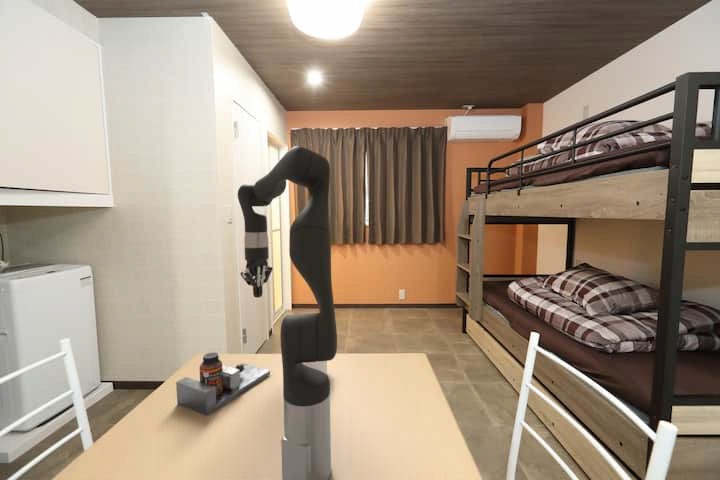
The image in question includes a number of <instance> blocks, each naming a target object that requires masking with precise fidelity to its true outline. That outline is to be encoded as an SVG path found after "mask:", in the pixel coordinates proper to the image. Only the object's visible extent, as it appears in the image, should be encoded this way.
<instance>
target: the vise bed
mask: <svg viewBox="0 0 720 480" xmlns="http://www.w3.org/2000/svg"><path fill="white" fill-rule="evenodd" d="M241 364H242V365H243V366H244V370H243V372H241V373H240V386H239V387H237V388H236V389H234V390H229V389H226V388H223V391H222V392H221V393H220V394H219V395H217V396H216V387H215V386H212V385H209V384H206V383H203V382H200V380H196V379H193V378H190V377H187V376H185V377H183V378H181V379H179V380H177V381H175V384H176V385H175V386H176V403H177V405H178V406H181V407H183V408H185V409H189V410H190V411H193V412H196V413H199V414H201V415H204V416H206V417H207V416H209V415H211V414H212V413H214V412H215V411H217V410H218V409H220V408H222V407H223V406H225V405H226V404H228V403H229V402H231V401H232V400H234V399H235V398H237V397H238V396H240V395H241V394H243V393H244V392H246V391H247V390H249V389H250V388H252V387H254V386H255V385H257V384H258V383H260V382H261V381H263V380H264V379H266V378H267V377H268V376H270V375H271V371H270V369H266V368H264V367H262V368H261V367H258V366H256V365H251V364H247V363H244V362H242V363H241ZM234 368H236V366H235V367H234Z"/></svg>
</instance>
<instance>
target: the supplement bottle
mask: <svg viewBox="0 0 720 480" xmlns="http://www.w3.org/2000/svg"><path fill="white" fill-rule="evenodd" d="M219 358H220V356H219V353H218V352H208V353H205V354H203V357H202V362H201V364H200V365H199V381H200V382H203V383H206V384H209V385H212V386H215V387H216V396H217V395H219V394H220V393H221V392H222V391H223V369H222V365H223V361H222V360H221V359H219Z"/></svg>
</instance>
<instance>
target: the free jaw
mask: <svg viewBox="0 0 720 480" xmlns="http://www.w3.org/2000/svg"><path fill="white" fill-rule="evenodd" d="M235 367H236V368H235ZM235 367H230V366H227V365H224V364H222V369H223V388H226V389H229V390H234V389H236V388H237V387H239V386H240V373H241V372H243V370H244V366H243V365H242V363H239V364H237V365H236V366H235Z"/></svg>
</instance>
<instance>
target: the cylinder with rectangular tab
mask: <svg viewBox="0 0 720 480" xmlns="http://www.w3.org/2000/svg"><path fill="white" fill-rule="evenodd" d="M302 364H304V365H306V366H308V367H310V368H313V369H317V370H320V371H322V372H324V373H325V374H326V375H327V376H328V368H327V367H328V361H320V362H307V363H302Z"/></svg>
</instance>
